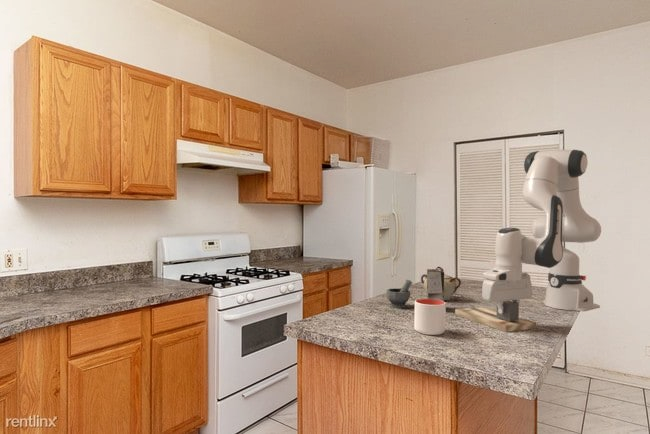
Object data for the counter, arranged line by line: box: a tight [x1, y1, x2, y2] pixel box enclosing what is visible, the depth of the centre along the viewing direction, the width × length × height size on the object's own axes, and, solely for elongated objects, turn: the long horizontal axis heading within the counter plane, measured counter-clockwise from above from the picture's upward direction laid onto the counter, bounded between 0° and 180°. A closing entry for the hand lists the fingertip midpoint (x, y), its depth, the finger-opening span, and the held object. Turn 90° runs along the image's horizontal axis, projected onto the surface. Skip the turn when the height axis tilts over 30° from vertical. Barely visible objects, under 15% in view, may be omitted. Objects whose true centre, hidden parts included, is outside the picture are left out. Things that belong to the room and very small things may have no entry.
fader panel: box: [454, 306, 537, 333], centre depth 148 cm, size 14×25×2 cm, turn 22°
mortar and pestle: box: [386, 279, 413, 309], centre depth 168 cm, size 11×9×12 cm
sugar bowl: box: [420, 266, 462, 301], centre depth 186 cm, size 20×15×15 cm
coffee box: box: [426, 268, 445, 302], centre depth 166 cm, size 9×6×16 cm
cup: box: [414, 298, 447, 336], centre depth 133 cm, size 10×10×10 cm
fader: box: [496, 300, 520, 321], centre depth 142 cm, size 4×6×6 cm, turn 22°
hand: (507, 312), depth 142 cm, fingers closed on fader, 4 cm apart
